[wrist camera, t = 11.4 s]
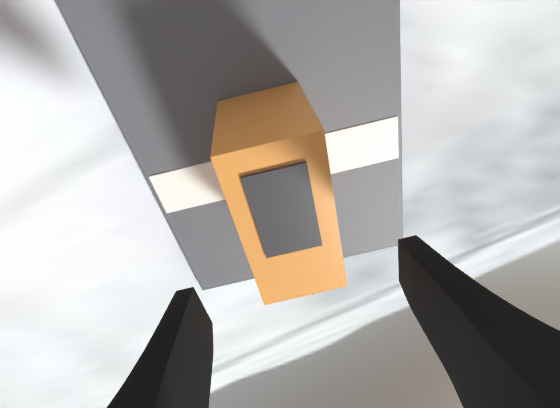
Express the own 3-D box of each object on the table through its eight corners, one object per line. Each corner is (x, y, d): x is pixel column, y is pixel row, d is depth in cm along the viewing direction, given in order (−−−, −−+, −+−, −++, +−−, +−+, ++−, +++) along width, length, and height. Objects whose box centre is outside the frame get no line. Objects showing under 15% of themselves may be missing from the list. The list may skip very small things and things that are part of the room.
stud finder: (257, 227, 22) (264, 307, 16) (217, 101, 17) (209, 159, 12) (321, 212, 21) (348, 288, 16) (298, 81, 17) (324, 131, 12)
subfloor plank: (203, 283, 25) (202, 290, 24) (10, -104, 13) (0, -106, 12) (399, 238, 24) (403, 244, 24) (390, -207, 12) (397, -216, 12)
